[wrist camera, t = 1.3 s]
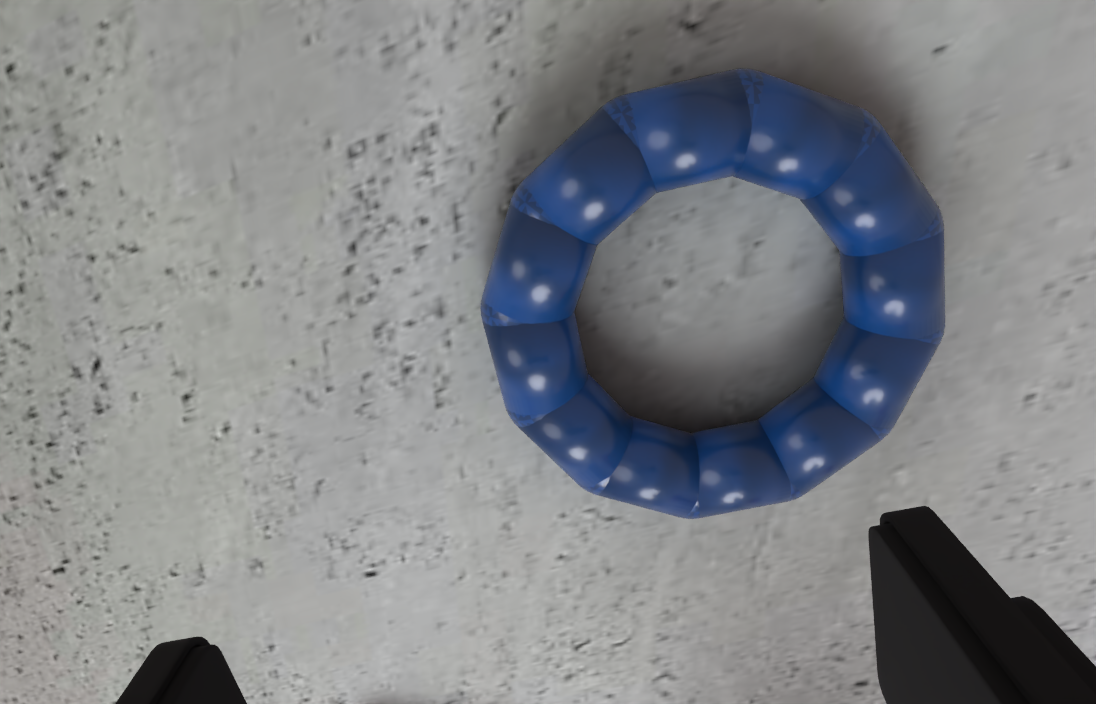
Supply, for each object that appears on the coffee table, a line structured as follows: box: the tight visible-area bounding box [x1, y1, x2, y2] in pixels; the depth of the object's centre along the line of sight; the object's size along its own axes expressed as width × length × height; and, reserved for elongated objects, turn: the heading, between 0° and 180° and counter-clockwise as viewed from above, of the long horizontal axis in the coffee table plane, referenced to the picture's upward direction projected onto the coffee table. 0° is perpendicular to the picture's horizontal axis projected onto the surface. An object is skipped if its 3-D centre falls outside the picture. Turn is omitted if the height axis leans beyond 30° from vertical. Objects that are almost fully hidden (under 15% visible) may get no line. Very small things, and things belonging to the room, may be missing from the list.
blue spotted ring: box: [481, 69, 945, 519], centre depth 20 cm, size 13×13×3 cm
